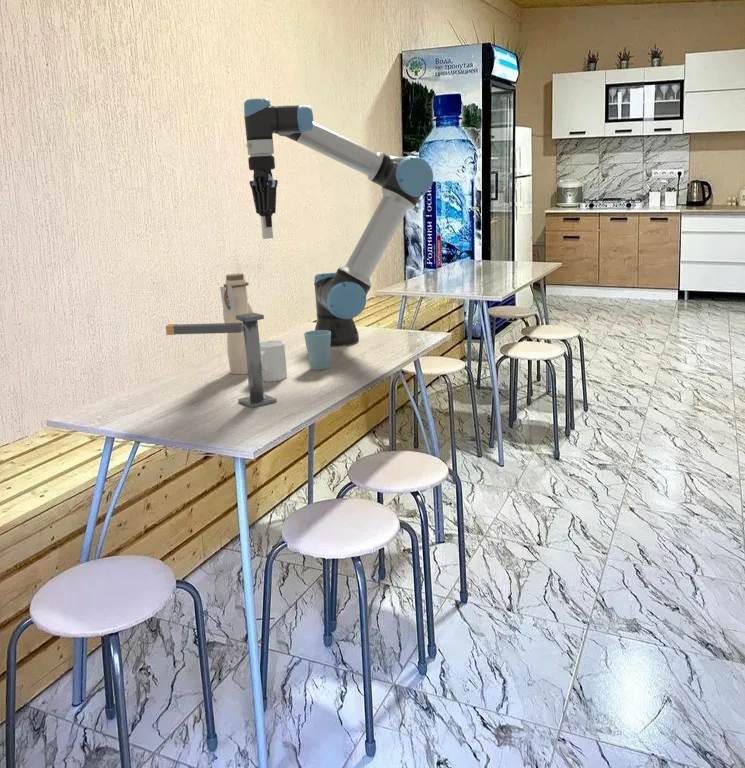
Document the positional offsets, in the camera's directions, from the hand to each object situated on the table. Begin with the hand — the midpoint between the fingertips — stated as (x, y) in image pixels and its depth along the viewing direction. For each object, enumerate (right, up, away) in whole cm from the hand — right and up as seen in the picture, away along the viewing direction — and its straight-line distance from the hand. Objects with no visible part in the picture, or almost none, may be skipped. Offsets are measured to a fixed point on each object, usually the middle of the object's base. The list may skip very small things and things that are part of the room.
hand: (267, 238), depth 233 cm
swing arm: (-10, -31, -40) cm, 51 cm away
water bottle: (-6, -40, -6) cm, 41 cm away
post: (+2, -48, -37) cm, 60 cm away
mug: (+3, -42, -16) cm, 45 cm away
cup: (+16, -39, -6) cm, 42 cm away
